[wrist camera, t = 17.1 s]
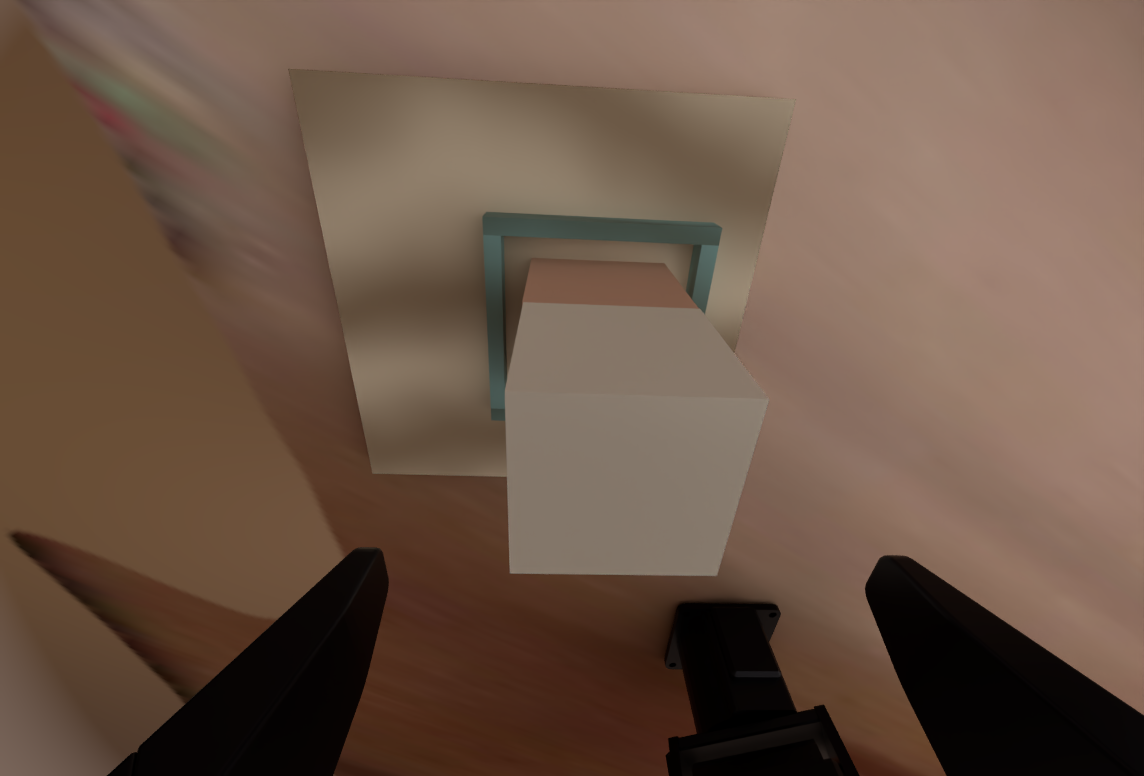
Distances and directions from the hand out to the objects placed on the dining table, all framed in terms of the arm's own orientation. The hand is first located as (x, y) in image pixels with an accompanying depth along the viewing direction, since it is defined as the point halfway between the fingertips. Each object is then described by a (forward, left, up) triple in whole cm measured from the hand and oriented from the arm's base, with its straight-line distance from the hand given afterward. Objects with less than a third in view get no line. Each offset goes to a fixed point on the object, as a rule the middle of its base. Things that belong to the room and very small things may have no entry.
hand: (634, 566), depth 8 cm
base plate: (0, +2, -13) cm, 13 cm away
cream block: (0, 0, -7) cm, 7 cm away
